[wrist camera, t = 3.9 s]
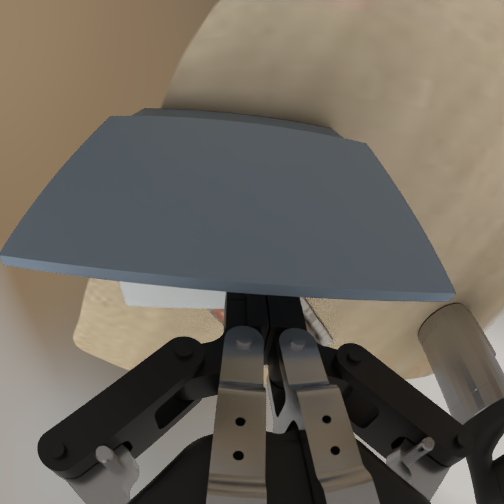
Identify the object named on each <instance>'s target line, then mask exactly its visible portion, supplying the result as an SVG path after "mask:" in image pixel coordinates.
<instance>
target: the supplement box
mask: <svg viewBox="0 0 504 504" xmlns="http://www.w3.org/2000/svg"><path fill="white" fill-rule="evenodd" d="M119 284H120V288H121V291H122V294H123V298H124V301H125V304H126V305H127V306H139V307H162V308H206V309H224V307H225V297H226V292H223V291H211V290H199V289H189V288H178V287H168V286H158V285H149V284H140V283H131V282H122V281H119Z"/></svg>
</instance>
